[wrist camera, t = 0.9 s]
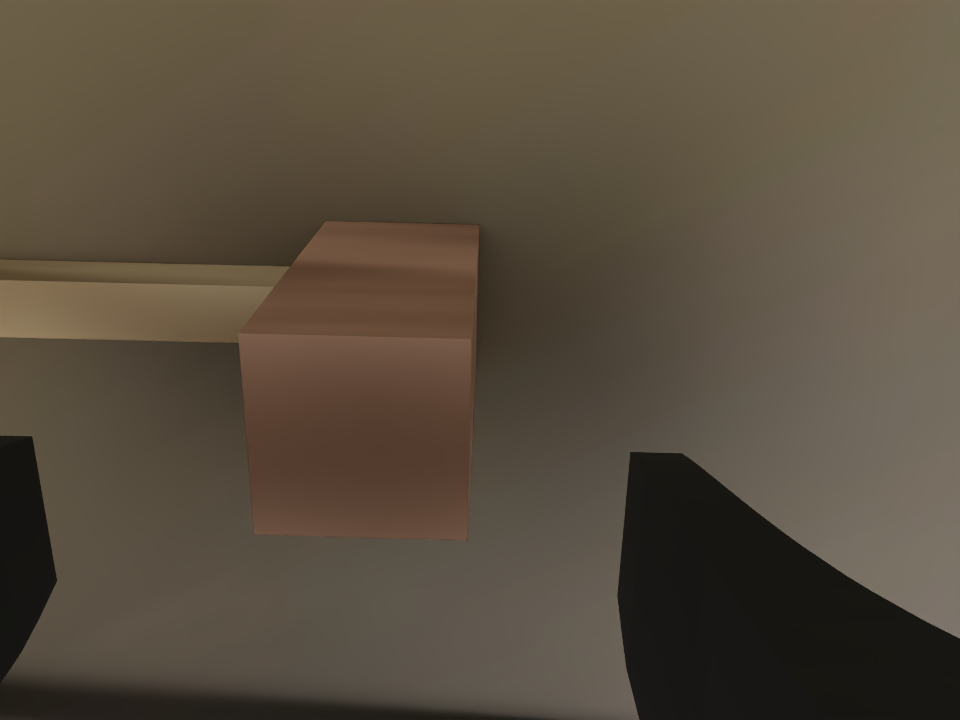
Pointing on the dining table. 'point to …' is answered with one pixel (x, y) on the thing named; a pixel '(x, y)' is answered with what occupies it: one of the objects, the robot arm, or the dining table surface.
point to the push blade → (311, 365)
